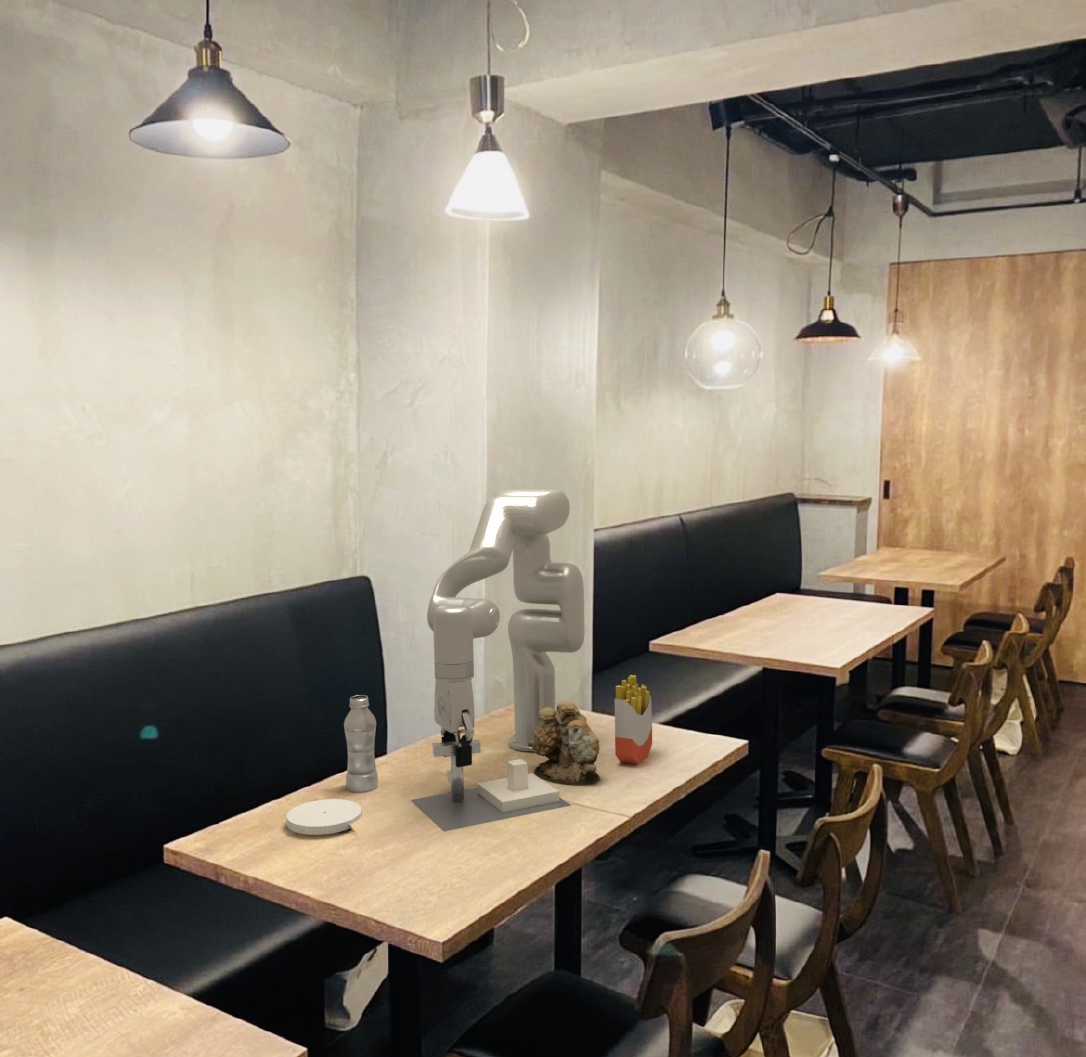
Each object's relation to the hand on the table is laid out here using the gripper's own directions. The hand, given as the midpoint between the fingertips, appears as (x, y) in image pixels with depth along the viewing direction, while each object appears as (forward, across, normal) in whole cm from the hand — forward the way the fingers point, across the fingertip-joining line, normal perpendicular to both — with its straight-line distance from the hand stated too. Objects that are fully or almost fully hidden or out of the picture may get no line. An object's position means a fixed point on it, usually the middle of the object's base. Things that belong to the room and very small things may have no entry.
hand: (456, 759), depth 204 cm
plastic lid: (+10, -5, -25) cm, 27 cm away
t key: (+8, -3, +1) cm, 8 cm away
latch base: (+10, +4, +5) cm, 12 cm away
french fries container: (+10, -8, +45) cm, 47 cm away
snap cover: (+8, +4, +11) cm, 14 cm away
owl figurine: (+10, -3, +25) cm, 27 cm away
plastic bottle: (+10, -17, -14) cm, 24 cm away
